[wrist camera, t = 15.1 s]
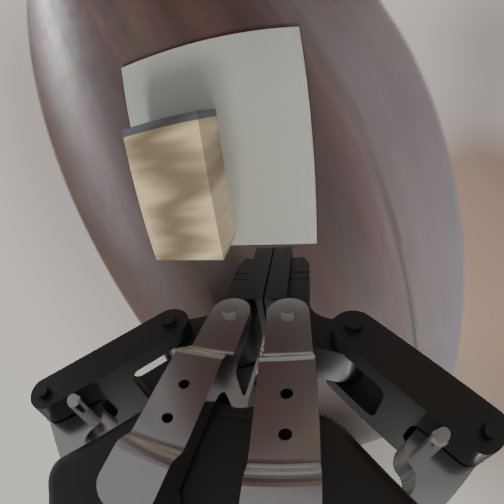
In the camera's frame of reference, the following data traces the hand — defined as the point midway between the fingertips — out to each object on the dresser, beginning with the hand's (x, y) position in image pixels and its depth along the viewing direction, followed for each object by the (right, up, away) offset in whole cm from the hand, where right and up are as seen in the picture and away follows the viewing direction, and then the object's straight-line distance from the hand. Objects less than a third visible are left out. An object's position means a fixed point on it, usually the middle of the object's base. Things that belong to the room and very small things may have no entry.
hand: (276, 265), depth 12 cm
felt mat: (-4, +9, +8) cm, 13 cm away
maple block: (-7, +10, +5) cm, 14 cm away
